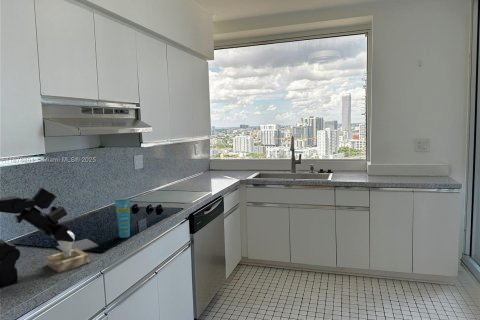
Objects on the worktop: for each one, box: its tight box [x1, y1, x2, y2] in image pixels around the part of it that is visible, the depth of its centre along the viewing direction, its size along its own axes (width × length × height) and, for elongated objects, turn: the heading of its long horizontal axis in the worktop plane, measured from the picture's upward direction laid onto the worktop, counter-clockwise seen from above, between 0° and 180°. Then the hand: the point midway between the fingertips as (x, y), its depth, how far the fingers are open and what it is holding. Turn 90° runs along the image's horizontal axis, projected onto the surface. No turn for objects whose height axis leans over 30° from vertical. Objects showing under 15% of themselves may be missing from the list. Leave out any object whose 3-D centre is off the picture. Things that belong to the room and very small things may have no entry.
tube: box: [114, 198, 131, 239], centre depth 174 cm, size 7×5×19 cm, turn 119°
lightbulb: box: [57, 230, 76, 257], centre depth 141 cm, size 6×6×11 cm
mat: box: [55, 238, 99, 252], centre depth 161 cm, size 14×14×1 cm
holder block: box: [46, 248, 90, 274], centre depth 141 cm, size 12×12×4 cm
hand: (69, 239), depth 141 cm, fingers closed on lightbulb, 6 cm apart
